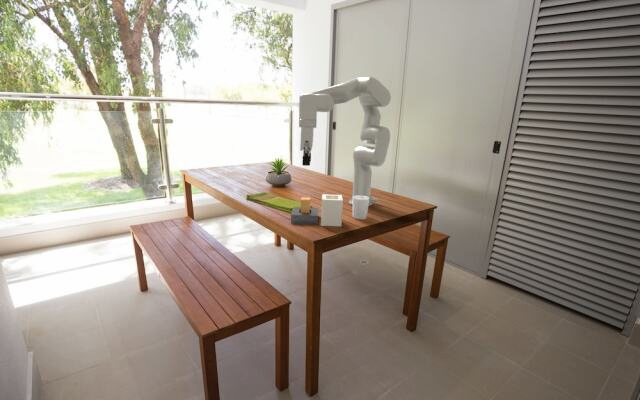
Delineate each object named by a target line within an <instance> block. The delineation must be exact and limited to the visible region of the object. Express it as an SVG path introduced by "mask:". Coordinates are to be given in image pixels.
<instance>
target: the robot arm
mask: <svg viewBox="0 0 640 400" xmlns="http://www.w3.org/2000/svg"><path fill="white" fill-rule="evenodd" d="M391 97H392V96H391V92H390V90H389V89H388V88H387V87H386V86H385V85H384V84H383V83H382V82H381V81H379V80H378V79H377V78H375V77H374V76H360V77H355V78H354V77H353V78H352V79H350V80H347V81H344V82H342V83H340V84H336V85H333V86H330V87H326V88H322V89H321V88H320V89H318V90H316V91H313V92H311V93H301V94H300V95H299V102H298V103H299V104H298V106H299V107H298V128H301V129H300V144H299V145H300V151H302V162H301V163H302V166H311V159H312V153H311V152H312V149H313V144H314V143H313V142H314V129H317V115H318V112H319V113H328V112H331V111H332V110H333V109H334V107H335V105H339V104H340V105H341V104H346V103H348V102H350V101H352V100H354V99H357V98H358V101H359V103H360V105H361V107H362V109H363V113H364V116H363V120H362V121H363V122H362V127H361V131H360V141H361V142H362V143H364V144H370V145H374V146H369V145H359V146H356V147H355V148H354V149H353V152H352V157H353V158H352V159H353V180H352V181H353V182H352V196H351V199H349V201H348V203H349V204H350V205H351V206H352V203H353V196H356V195H362V196H367V197H369V205H368V207H370V206H372V205H373V202H376V203H377V202H379V197H377V198H376V197H375V196H374V197H373V196H371V187H372V176H373V175H372V174H373V172H372V167H382V166H383V165H384V163H385V161H386V158H387V155H388V149H389V146H390V142H391V132H390V130H389V128H388V127H386V126H383V125H380V124H381V123H380V122H381V119H382V118H381V117H382V115H381V111H380V109H379V108H384V107H387V106H388V105H389V104H390V102H391V99H392V98H391ZM378 107H379V108H378Z"/></svg>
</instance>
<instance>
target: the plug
mask: <svg viewBox="0 0 640 400" xmlns="http://www.w3.org/2000/svg"><path fill="white" fill-rule="evenodd" d="M300 203H301V213H310V205H311V197H306V196H304V197H303V196H302V197H301V198H300Z"/></svg>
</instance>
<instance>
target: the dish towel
mask: <svg viewBox="0 0 640 400" xmlns="http://www.w3.org/2000/svg"><path fill="white" fill-rule="evenodd" d="M245 200H247V201H249V200H250V201H249V202H252V201H253V203H256V204H259V205H262V206H266V207H269V208H273V209H276V210H279V211H281V212H285V213H289V214H291V213H292V210H293V207H301V201H296V200H291V199H287V198H284V197H280V196H277V195H275V194H271V193H269V192H267V191H262V192H257V193H251V194H250V193H249V194H246V199H245ZM310 207H312V208H314V207H313V205H311V204H310Z"/></svg>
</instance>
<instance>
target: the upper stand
mask: <svg viewBox="0 0 640 400" xmlns="http://www.w3.org/2000/svg"><path fill="white" fill-rule="evenodd" d="M343 199H344V198H343V195H342V194H324V193H323V194H321V213H320V215H321V216H320V226H321V227H327V226H328V227H342V223H343V222H342V221H343V219H342V218H343V207H344V206H343V204H344V203H343V202H344V201H343Z"/></svg>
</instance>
